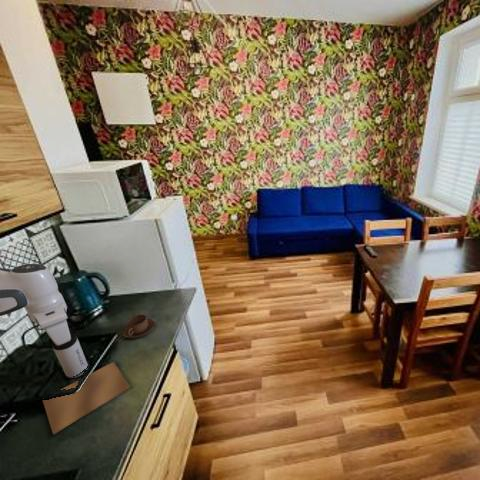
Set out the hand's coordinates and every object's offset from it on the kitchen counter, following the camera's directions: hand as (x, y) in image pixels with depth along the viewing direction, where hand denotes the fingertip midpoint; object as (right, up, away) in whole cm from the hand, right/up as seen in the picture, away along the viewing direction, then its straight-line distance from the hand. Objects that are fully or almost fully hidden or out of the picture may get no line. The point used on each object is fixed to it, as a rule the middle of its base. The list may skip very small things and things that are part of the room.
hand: (63, 340), depth 94 cm
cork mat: (+12, -17, -3) cm, 21 cm away
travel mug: (+1, -13, +5) cm, 14 cm away
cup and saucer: (+10, -5, +25) cm, 27 cm away
